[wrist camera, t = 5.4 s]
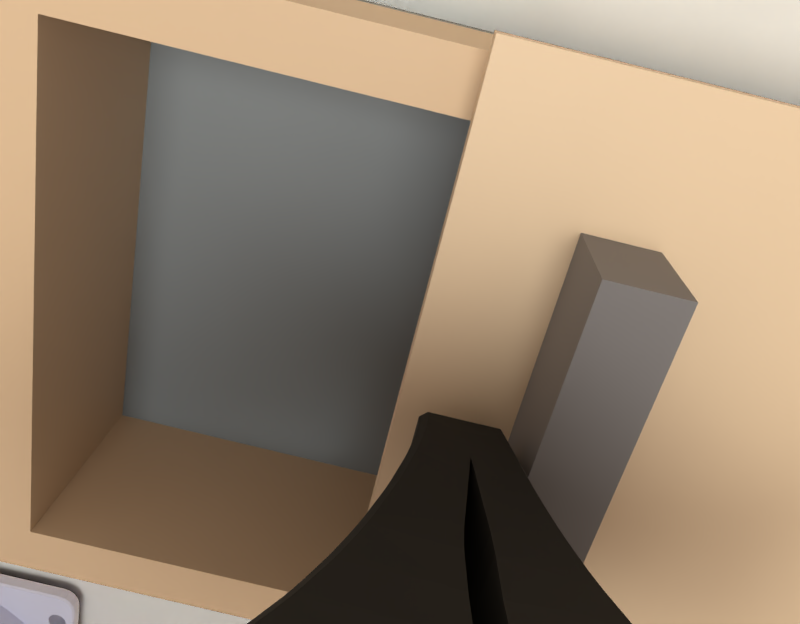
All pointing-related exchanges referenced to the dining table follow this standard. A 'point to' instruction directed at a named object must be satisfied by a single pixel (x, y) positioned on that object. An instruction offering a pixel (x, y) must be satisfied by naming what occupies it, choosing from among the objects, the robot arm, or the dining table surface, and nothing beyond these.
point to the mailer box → (212, 278)
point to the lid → (628, 325)
